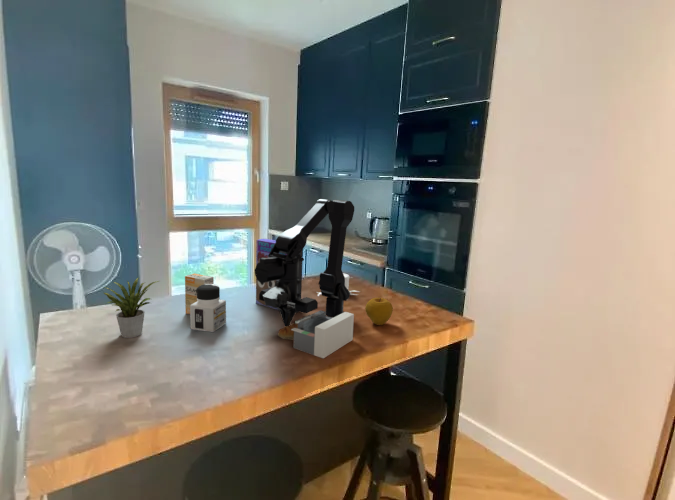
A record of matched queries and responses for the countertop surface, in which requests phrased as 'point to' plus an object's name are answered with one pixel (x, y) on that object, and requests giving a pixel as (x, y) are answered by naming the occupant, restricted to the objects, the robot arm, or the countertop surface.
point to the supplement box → (194, 288)
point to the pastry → (287, 331)
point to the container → (208, 309)
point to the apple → (379, 310)
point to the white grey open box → (326, 336)
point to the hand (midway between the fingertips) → (286, 326)
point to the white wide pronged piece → (345, 284)
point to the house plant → (130, 309)
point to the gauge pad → (311, 321)
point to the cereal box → (263, 251)
